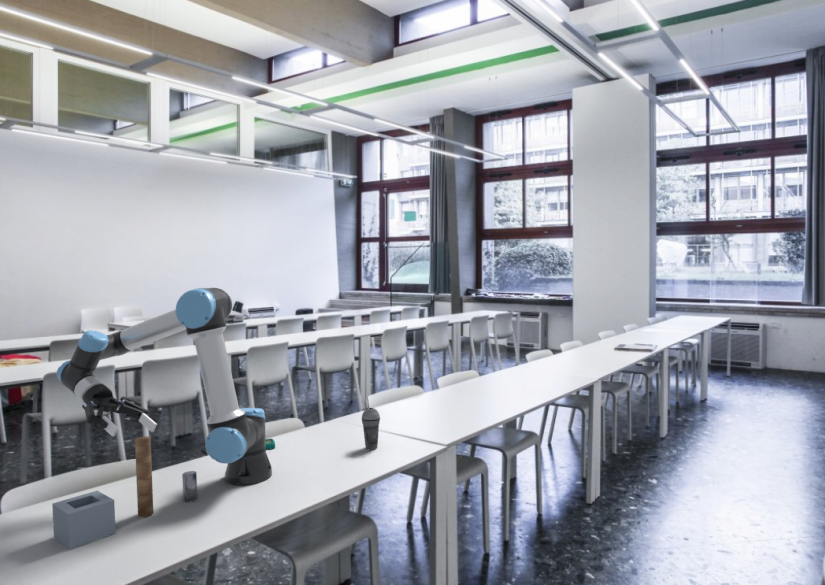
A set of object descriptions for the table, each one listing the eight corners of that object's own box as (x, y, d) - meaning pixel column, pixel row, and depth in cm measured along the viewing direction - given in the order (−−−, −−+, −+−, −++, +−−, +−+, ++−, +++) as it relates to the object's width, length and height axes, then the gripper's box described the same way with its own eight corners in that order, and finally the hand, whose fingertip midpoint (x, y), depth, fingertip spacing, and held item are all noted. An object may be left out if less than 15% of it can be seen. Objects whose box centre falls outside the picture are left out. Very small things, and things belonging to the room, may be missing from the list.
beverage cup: (378, 451, 213) (377, 398, 213) (360, 450, 214) (358, 398, 214) (382, 445, 220) (381, 394, 220) (364, 444, 222) (363, 394, 221)
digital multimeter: (235, 449, 221) (235, 441, 221) (273, 444, 226) (273, 437, 226) (236, 454, 214) (235, 447, 214) (275, 449, 219) (275, 442, 219)
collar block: (98, 522, 156) (97, 490, 156) (115, 533, 149) (114, 499, 148) (53, 537, 147) (52, 503, 147) (69, 549, 140) (68, 514, 140)
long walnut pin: (149, 510, 163) (146, 435, 162) (156, 513, 161) (153, 437, 160) (135, 515, 160) (132, 438, 159) (141, 518, 158) (138, 441, 157)
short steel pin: (193, 495, 174) (192, 470, 173) (199, 498, 171) (198, 472, 171) (180, 499, 170) (179, 473, 170) (187, 503, 168) (186, 476, 168)
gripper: (123, 402, 185) (163, 437, 177) (49, 406, 163) (91, 446, 154) (133, 382, 185) (174, 416, 176) (60, 383, 162) (103, 422, 153)
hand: (135, 430), depth 165 cm, fingers open, 13 cm apart
